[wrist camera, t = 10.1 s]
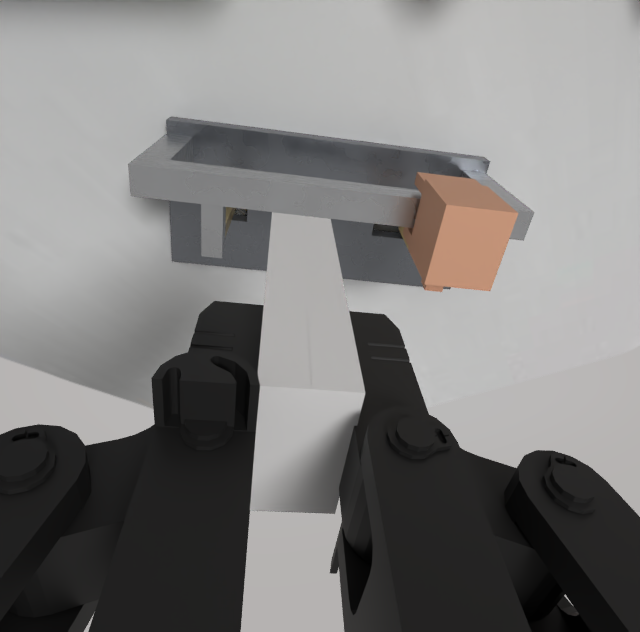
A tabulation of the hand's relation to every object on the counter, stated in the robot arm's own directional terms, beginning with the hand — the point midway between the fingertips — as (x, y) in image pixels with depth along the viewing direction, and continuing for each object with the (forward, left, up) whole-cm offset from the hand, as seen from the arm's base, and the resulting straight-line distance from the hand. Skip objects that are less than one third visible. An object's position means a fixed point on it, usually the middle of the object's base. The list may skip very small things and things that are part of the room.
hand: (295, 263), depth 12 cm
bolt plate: (+3, -8, -29) cm, 30 cm away
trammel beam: (+3, -6, -29) cm, 29 cm away
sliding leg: (+10, -5, -27) cm, 29 cm away
